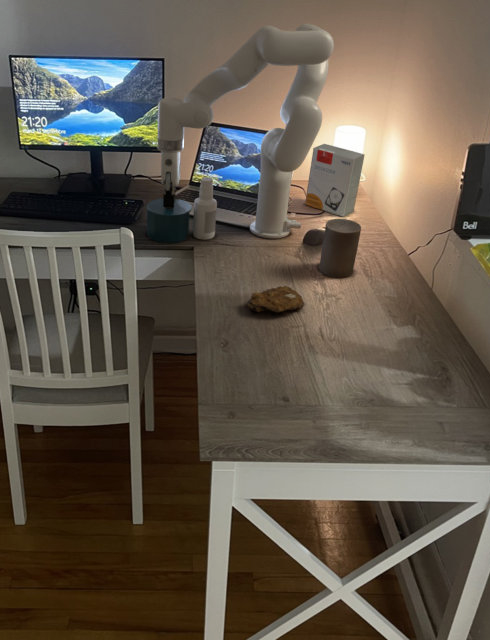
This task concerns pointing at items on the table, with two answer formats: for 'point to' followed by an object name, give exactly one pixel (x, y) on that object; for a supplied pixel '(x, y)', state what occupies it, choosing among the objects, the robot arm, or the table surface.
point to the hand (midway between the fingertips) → (169, 204)
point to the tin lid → (177, 210)
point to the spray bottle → (205, 211)
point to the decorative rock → (276, 300)
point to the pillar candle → (339, 247)
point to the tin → (167, 228)
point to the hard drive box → (334, 179)
